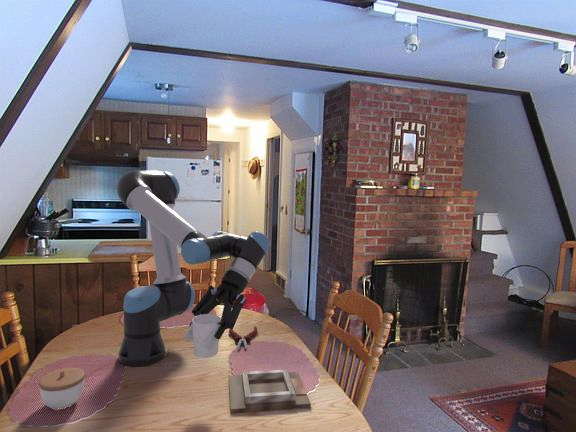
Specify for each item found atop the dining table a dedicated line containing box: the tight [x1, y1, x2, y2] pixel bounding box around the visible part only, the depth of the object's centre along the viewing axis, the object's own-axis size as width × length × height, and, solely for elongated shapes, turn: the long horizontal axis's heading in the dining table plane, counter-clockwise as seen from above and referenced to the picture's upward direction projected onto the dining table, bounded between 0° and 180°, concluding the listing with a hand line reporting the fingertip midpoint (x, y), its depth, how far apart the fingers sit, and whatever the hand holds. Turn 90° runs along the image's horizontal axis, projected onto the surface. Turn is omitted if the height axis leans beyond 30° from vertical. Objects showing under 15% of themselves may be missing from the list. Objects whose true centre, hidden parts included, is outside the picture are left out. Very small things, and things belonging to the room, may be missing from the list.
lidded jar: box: [38, 367, 85, 409], centre depth 109 cm, size 11×11×9 cm
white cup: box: [191, 313, 221, 359], centre depth 114 cm, size 8×8×10 cm
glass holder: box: [228, 369, 312, 414], centre depth 118 cm, size 22×18×3 cm
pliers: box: [228, 325, 259, 351], centre depth 155 cm, size 12×20×3 cm, turn 5°
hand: (197, 343), depth 112 cm, fingers closed on white cup, 8 cm apart
